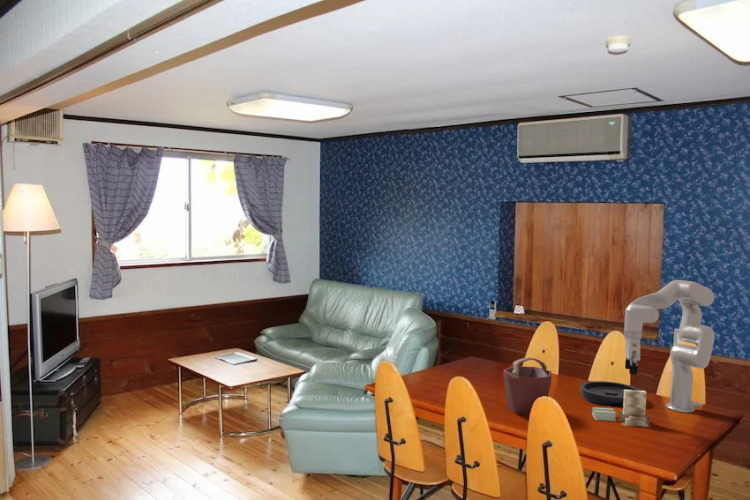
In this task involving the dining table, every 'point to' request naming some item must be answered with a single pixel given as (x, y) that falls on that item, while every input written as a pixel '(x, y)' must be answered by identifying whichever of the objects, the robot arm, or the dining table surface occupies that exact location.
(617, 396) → the round tray
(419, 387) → the dining table surface
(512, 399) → the bucket
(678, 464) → the dining table surface
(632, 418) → the offcut stack
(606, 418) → the slotted stand
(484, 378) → the dining table surface
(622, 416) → the rack
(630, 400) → the birch board
